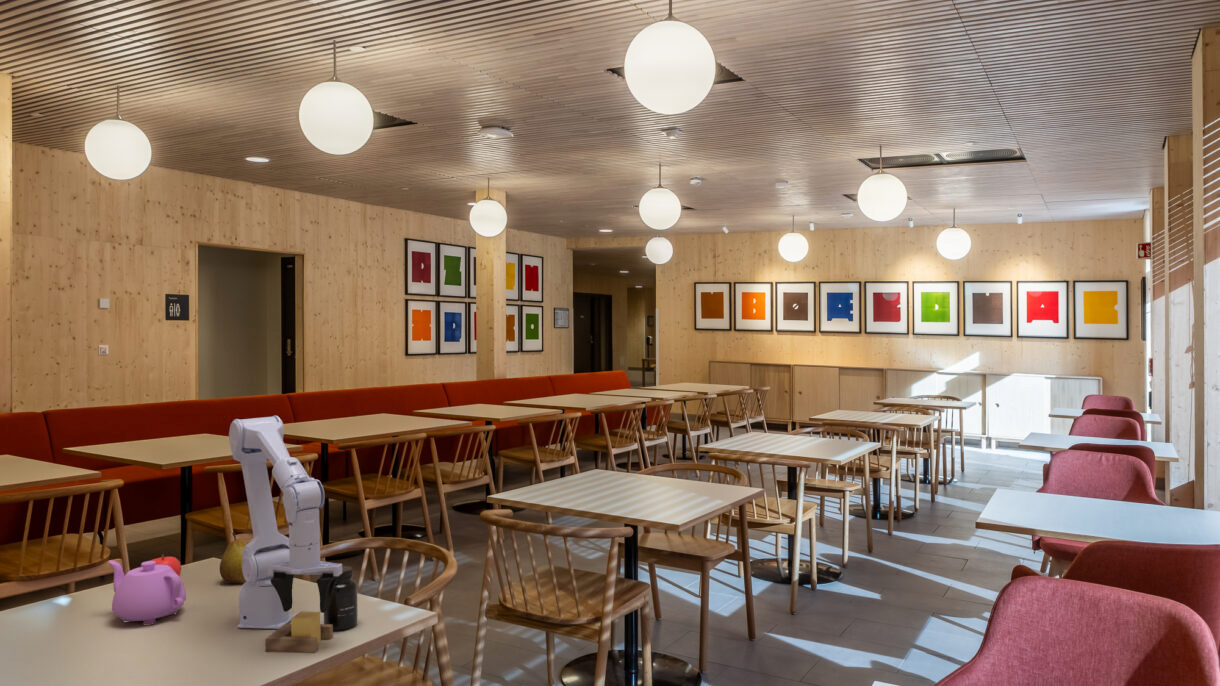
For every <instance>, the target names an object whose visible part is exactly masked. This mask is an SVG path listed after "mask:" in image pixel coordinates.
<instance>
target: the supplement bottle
mask: <svg viewBox="0 0 1220 686" xmlns="http://www.w3.org/2000/svg"><path fill="white" fill-rule="evenodd" d="M358 611H359V610H358V584H357V582H356V581H355V580H354V579H353V568H352V567H351V566H345V565H344V566H343V565H342V574H341V575H339V578H338V580H337V582H336V584H335V586H334V589H333V591H332V594H331V598H330V602H329V608H328V610H327V611H326V612H324V613H323V624H331V625H333V632H339V631H346V630H351V629H352V628H354V627H356V625H357V624H358V620H359V618H358Z"/></svg>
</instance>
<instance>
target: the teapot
mask: <svg viewBox="0 0 1220 686" xmlns="http://www.w3.org/2000/svg"><path fill="white" fill-rule="evenodd" d="M108 563H109V564H110V565H111V567H112V569H113V583H112V584H113V591H114V595H113V598H112V602H111V610H112V613H113V614H114V615H116V617H118V618H119V619H120V620H122V621H131V622H139V621H141V622H142V621H143V625H144V624H150V625H153V624H155V623H156V622H157V621H156V619H159V618H162V617H166V616H173V615H172V614H174V615H176V614H175V613H177V614H178V610H179V609H180V608H182V607H183V606H184V604H185V601H186V600H187V592H186V588H185V585H184V583H183V581H182V579H181V576H180V577H179V576H178V575H177V574H176V573H175V571H174V570H173V569H172V568H171V567H170V566H167V565H155V564H156V561H151V560H147V561H146V560H145V561H143V562H141V564H140V566H139V567H136V568H133V569H131V570H129V571H127V572H126V573H125V572H124V570H123V566H122V565H121V564H120V562H118V561H115V560H112V559H110V560H108ZM152 623H153V624H152Z"/></svg>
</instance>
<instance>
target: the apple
mask: <svg viewBox="0 0 1220 686" xmlns="http://www.w3.org/2000/svg"><path fill="white" fill-rule="evenodd" d="M150 561H156V564H155V565H167V566H170V567H171V568H172V569H173V570H174V571H175V573H176V574H177V575H178V576H179V577H180V578H181V572H182V566H181V561H180V560H179V559H177V558H176V557H175V556H165V555H164V553H163V554H161V557H157V558H154V559H151V560H150Z"/></svg>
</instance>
